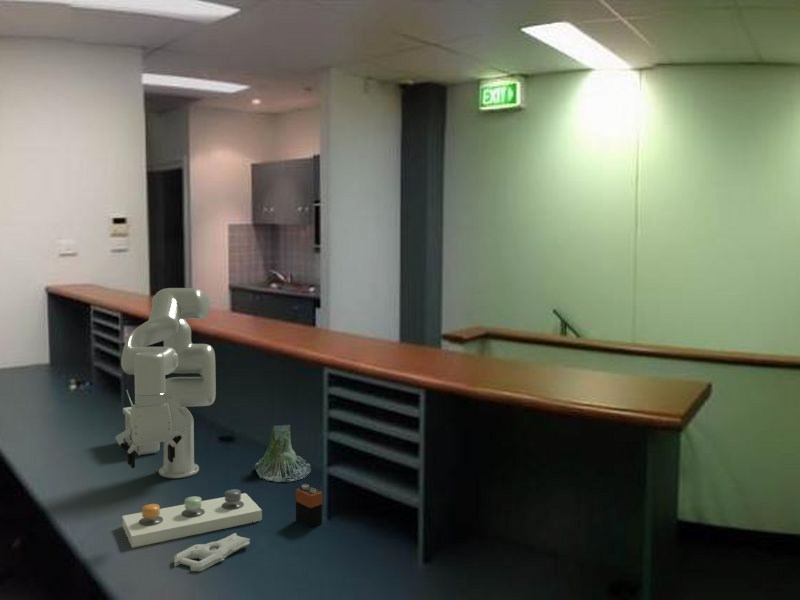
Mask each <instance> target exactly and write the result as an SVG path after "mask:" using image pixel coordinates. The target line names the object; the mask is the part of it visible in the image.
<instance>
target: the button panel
mask: <svg viewBox="0 0 800 600" xmlns="http://www.w3.org/2000/svg"><path fill="white" fill-rule="evenodd" d="M201 504H202V506H201V507H200V508H199V509H195V510H187V509H185V503H183V504H180V505H179V504H178V505H174V506H168V507H164V508H160V514H159V515H158V516H157V517H153V518H144V517H142V511H141V512H135V513H131V514H125V515H122V518H121V519H122V528H123V530H125V531H124V533H125V534H126V537H128V538H127V540H128V542H129V544H130V546H131V548H132V549H133V548H137V547H142V546H147V545H151V544H156V543H161V542H166V541H171V540H175V539H176V540H177V539H181V538H185V537H189V536H194V535H200V534H205V533H209V532H214V531H220V530H223V529H228V528H233V527H237V526H242V525H248V524H252V522H253V523H256V522H257V521H258V522H262V521H263V510H262V508H261V507H259V505H258V504H257V503H256V502H255V501H254V500H253V499H252V498H251V496H249V495H248V494H247V493H246V492H245V493H244V492H243V493H241V500H239V501H237V502H226V501H225V496H223V497H218V498H212V499H206V500H201ZM261 520H262V521H261Z"/></svg>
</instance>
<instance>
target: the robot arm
mask: <svg viewBox="0 0 800 600" xmlns="http://www.w3.org/2000/svg"><path fill="white" fill-rule="evenodd" d="M210 305H211V304H210V299H209V296H208V295H207V293H206V292H204V291H203V290H202V289H199V288H196V287H195V288H194V287H188V288H187V287H167V288H162V289H160V290H159V291H157V292H156V293H155V294H154V295H153V297H152V299H151V309H150V313H149V316H148V320H147V321H145V322H144V323H141V324H140V325H138V327H136V328H135V329H134V330H132V331H131V332H130V333H129V334H128V336H127V337H126V339H125V343H124V346H123V349H122V353H121V359H120V365H121V369H122V370H123V372H124V373H125V374H127V375H130V376H132V375H133V376H134V404H133V405H131V406H130V407H131V413H130V425H129V429H127V430H126V431H125V430H124V431H123V432H120V433H119V434H117V435H116V436H115V441H116V442H117V444H118V445H119V446H120V448H121V449H122V450H124V451H125V452H126V453H127V454H126V455H127V456H126V457H127V460H126V462H127V465H129V466H130V467H131V469H135V467H136V462H135V461H136V459H135V458H136V455H135V450H134V449H135V448H136V447H137V445H143V444H151V443H158V442H160V443H163V444H162V446H163V450H162V451H163V465H162V466H161V467H160V468H159V469H158V475H160V476H161V477H162V478H163V477H164V478H167V479H181V478H187V477H191V476H193V475H195V474H197V473H198V472H199V471H200V467H199V465H198V464H197V463H195V440H194V439H195V436H194V435H195V432H194V429H195V428H194V425H195V424H194V423H195V422H194V417H193V415H192V413H191V411H190V410H189V409H188V408H187V407H208V406H211V405H213V404H214V403H215V400H216V395H217V393H216V391H217V390H216V389H217V385H216V384H217V383H216V382H217V381H216V380H217V379H216V375H217V373H216V353H215V349H214V348H213V346H212V345H210V344H207V343H193V341H192V328H191V326H190V324H189V323H188V322H187V320H204V319H206V318H207V316H208V315H209V314H210V308H211V306H210ZM160 342H163V346H151V345H154V344H157V343H160ZM170 374H199V376H174V377H168V378H166V376H167V375H170ZM127 436H129V438H130V440H131V442H130V443H129V444H128V443H126V442H125V441H124V440H125V439H126V437H127Z"/></svg>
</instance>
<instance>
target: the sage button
mask: <svg viewBox="0 0 800 600" xmlns="http://www.w3.org/2000/svg"><path fill="white" fill-rule="evenodd" d="M201 501H202V497H200V496H197V495H196V496H189V497H185V499H184V504H185V509H187V510H195V509H199V508H200V507H201V506H202V504H201Z"/></svg>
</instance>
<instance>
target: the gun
mask: <svg viewBox="0 0 800 600" xmlns="http://www.w3.org/2000/svg"><path fill="white" fill-rule="evenodd" d="M250 544H251V539H250V537H249V538H248V537H244V536H240V535H237V532H236V533H235V532H234V533H232V534H230V535H228V536H226V537H225V538H221V539H219V540H217V541H211V542H208V543H199V544H198V543H197V544H193V545H191V546H190V547H187V548H186V549H184V550H183V551H180V552H178V553H176V554H174V556H173V557H174V559H173V564H174V568H176V567H178V566H180V565H184V566H188V567H190V571H191V572H203V571H205V570H206V569H208V568H210V567H211V566H215V564H217V563H220V562H222V561H225V559H226V558H227V557H229V556H230V555H232V554H234V553H235V552H237V551H239V550H241V549H243V548H245V547H247V546H248V545H250ZM194 559H199V561H198V560H194Z"/></svg>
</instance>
